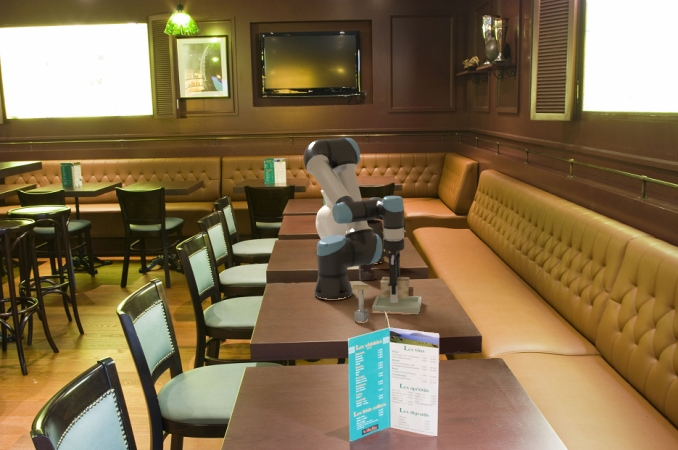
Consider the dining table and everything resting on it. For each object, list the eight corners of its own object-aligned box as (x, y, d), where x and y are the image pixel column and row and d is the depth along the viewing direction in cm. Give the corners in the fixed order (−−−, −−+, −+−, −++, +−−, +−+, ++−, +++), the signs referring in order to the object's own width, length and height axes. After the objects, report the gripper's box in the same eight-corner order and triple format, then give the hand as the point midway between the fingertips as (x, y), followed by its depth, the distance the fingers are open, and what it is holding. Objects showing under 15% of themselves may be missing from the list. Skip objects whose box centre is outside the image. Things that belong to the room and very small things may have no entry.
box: (361, 281, 272) (360, 254, 269) (358, 278, 276) (357, 251, 274) (375, 280, 273) (374, 252, 271) (372, 277, 278) (371, 250, 275)
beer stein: (356, 264, 299) (358, 222, 294) (364, 258, 308) (365, 217, 304) (388, 268, 293) (389, 226, 288) (394, 262, 303) (396, 221, 298)
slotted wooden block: (380, 297, 235) (380, 281, 234) (383, 292, 241) (382, 276, 240) (412, 298, 232) (412, 282, 231) (413, 292, 239) (413, 277, 237)
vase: (335, 239, 349) (333, 184, 343) (363, 245, 334) (361, 188, 327) (309, 245, 337) (307, 189, 331) (337, 252, 321) (334, 193, 315)
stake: (352, 323, 224) (351, 287, 221) (355, 318, 228) (353, 283, 226) (368, 324, 223) (367, 288, 220) (370, 319, 227) (369, 284, 225)
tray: (372, 313, 233) (372, 306, 233) (377, 301, 246) (377, 295, 245) (419, 314, 230) (418, 308, 229) (421, 303, 242) (421, 296, 242)
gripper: (401, 245, 222) (402, 308, 227) (406, 232, 241) (407, 291, 246) (380, 245, 224) (381, 307, 229) (386, 232, 242) (388, 290, 247)
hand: (395, 299), depth 237 cm, fingers closed on slotted wooden block, 6 cm apart
